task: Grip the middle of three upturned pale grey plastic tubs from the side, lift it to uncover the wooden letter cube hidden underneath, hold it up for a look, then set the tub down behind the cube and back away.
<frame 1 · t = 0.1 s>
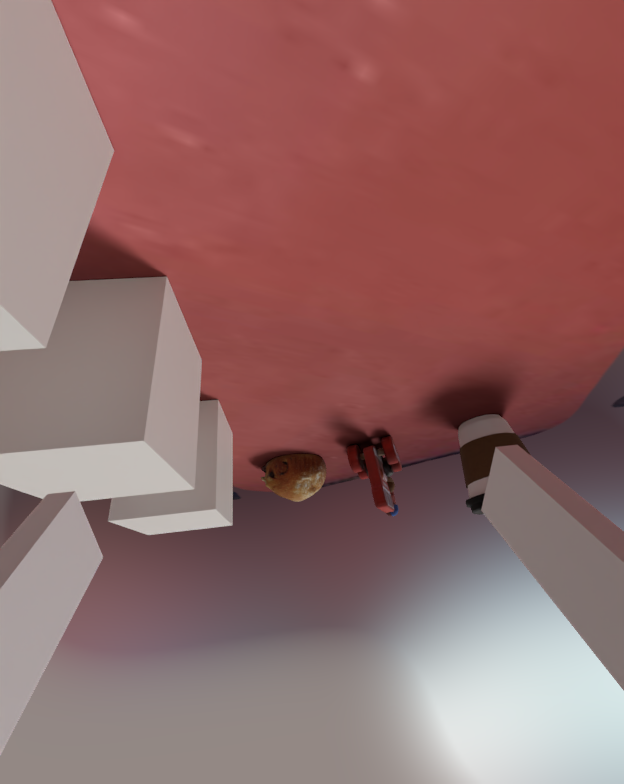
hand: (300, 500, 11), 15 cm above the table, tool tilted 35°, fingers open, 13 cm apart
tub middle: (123, 328, 24), on the table
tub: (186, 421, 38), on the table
bread roll: (292, 461, 56), on the table
coffee cup: (478, 422, 50), on the table
toy fire truck: (372, 445, 54), on the table
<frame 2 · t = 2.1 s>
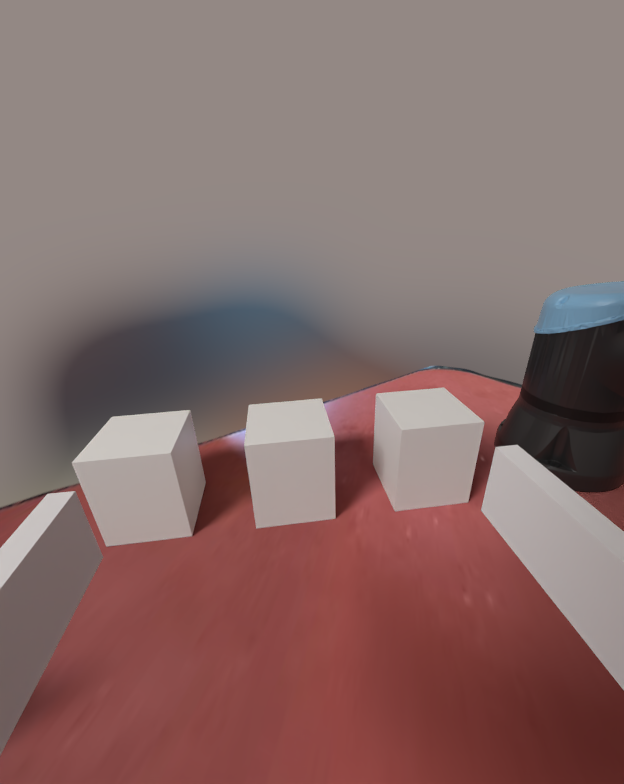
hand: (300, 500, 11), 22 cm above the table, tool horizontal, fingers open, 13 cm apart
tub middle: (293, 495, 42), on the table
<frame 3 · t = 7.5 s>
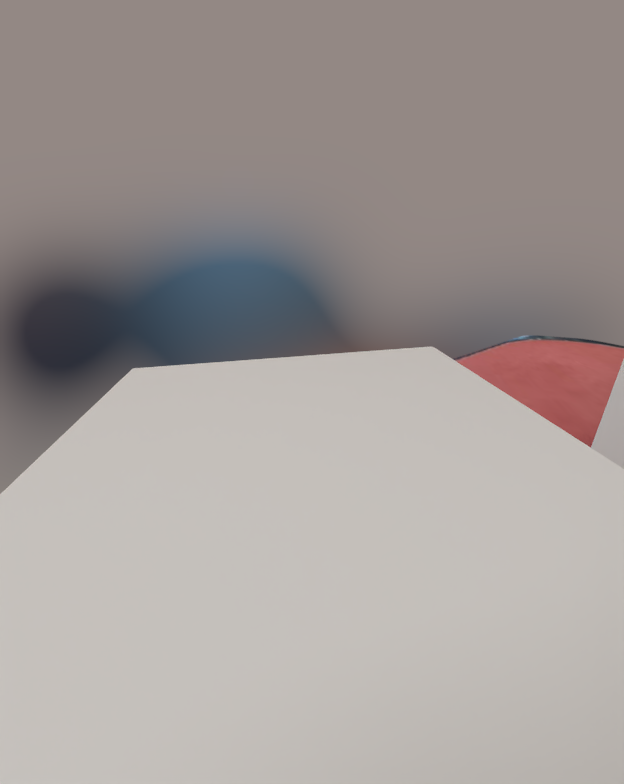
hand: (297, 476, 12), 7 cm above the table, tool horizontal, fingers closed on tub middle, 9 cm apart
tub middle: (320, 734, 11), on the table, touching gripper
when the fingers open (8 cm above the table, at t = 15.4 s): tub middle drops 1 cm, on the table.
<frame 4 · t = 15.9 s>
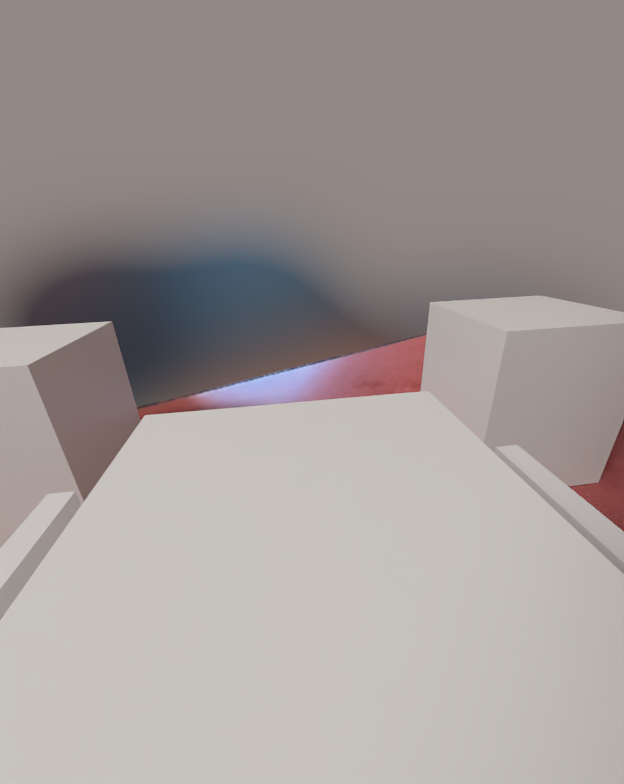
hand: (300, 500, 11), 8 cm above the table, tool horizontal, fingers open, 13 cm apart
tub middle: (321, 758, 11), on the table
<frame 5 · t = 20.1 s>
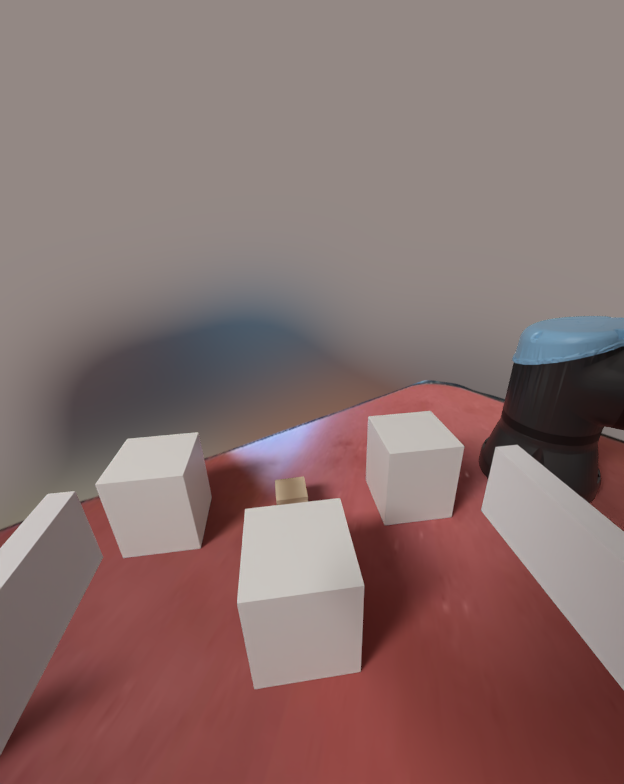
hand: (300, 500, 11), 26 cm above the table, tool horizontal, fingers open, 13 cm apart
tub middle: (303, 624, 32), on the table
letter cube: (291, 499, 45), on the table
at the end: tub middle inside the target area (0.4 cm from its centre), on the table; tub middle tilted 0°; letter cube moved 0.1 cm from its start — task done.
